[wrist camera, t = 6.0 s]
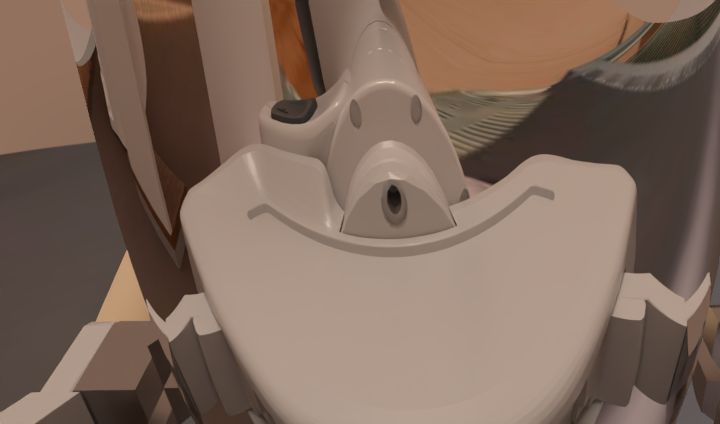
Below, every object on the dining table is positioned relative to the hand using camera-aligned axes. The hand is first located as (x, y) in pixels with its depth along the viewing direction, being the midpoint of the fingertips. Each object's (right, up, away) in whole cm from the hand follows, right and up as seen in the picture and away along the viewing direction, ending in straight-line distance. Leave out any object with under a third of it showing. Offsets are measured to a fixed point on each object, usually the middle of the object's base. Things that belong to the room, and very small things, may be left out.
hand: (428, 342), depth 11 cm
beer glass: (+1, -7, +4) cm, 8 cm away
